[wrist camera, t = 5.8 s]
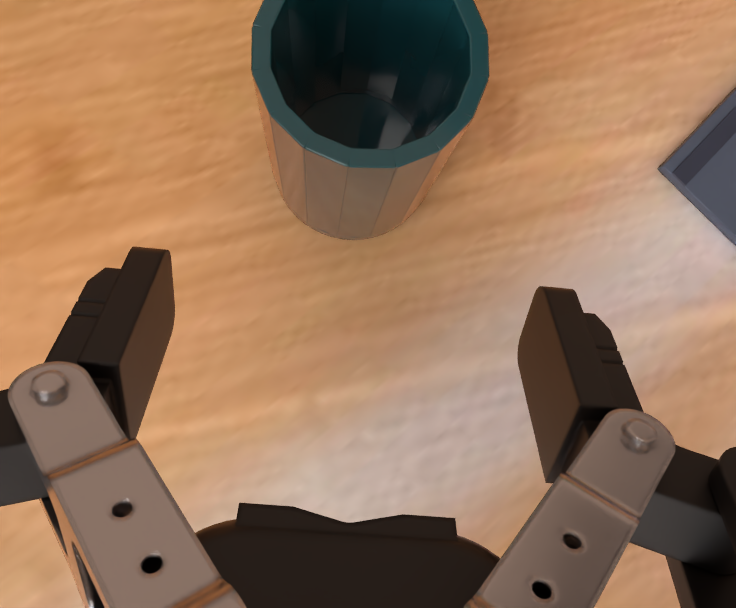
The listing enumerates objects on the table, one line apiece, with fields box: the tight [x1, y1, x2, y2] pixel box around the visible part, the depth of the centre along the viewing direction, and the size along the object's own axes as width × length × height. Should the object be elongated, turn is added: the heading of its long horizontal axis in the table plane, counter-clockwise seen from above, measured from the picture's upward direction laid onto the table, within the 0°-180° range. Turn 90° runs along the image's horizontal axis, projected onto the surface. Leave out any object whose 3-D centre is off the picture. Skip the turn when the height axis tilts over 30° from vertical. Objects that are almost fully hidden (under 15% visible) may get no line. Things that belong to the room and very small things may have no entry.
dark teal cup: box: [251, 0, 489, 240], centre depth 22 cm, size 6×6×9 cm
